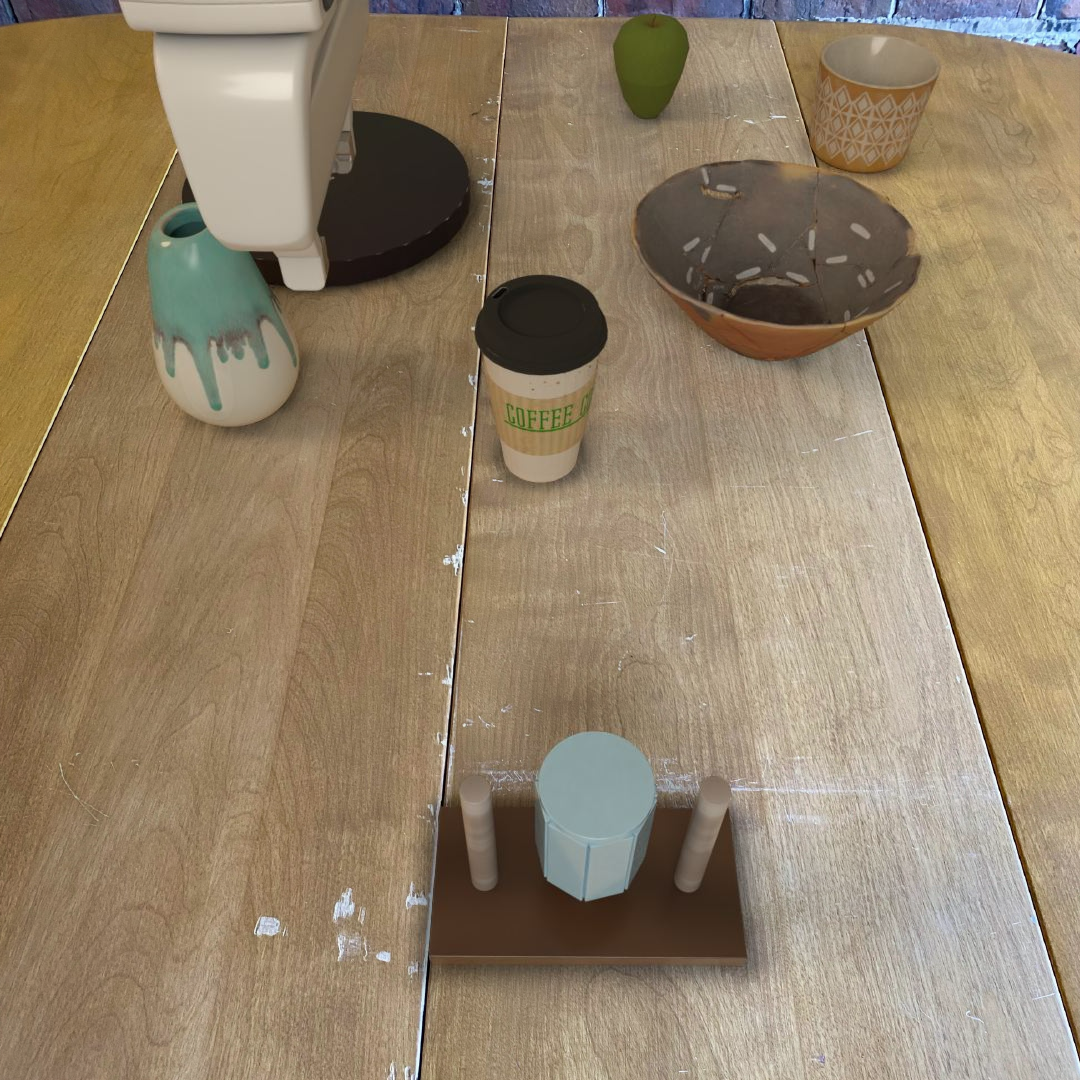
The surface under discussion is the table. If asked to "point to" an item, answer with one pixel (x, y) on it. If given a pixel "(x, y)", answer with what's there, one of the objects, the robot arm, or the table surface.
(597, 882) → the blue cup
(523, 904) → the cup rack
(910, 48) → the planter
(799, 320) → the bowl
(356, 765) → the table surface
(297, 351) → the vase
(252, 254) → the disc
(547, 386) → the coffee cup
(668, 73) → the apple
